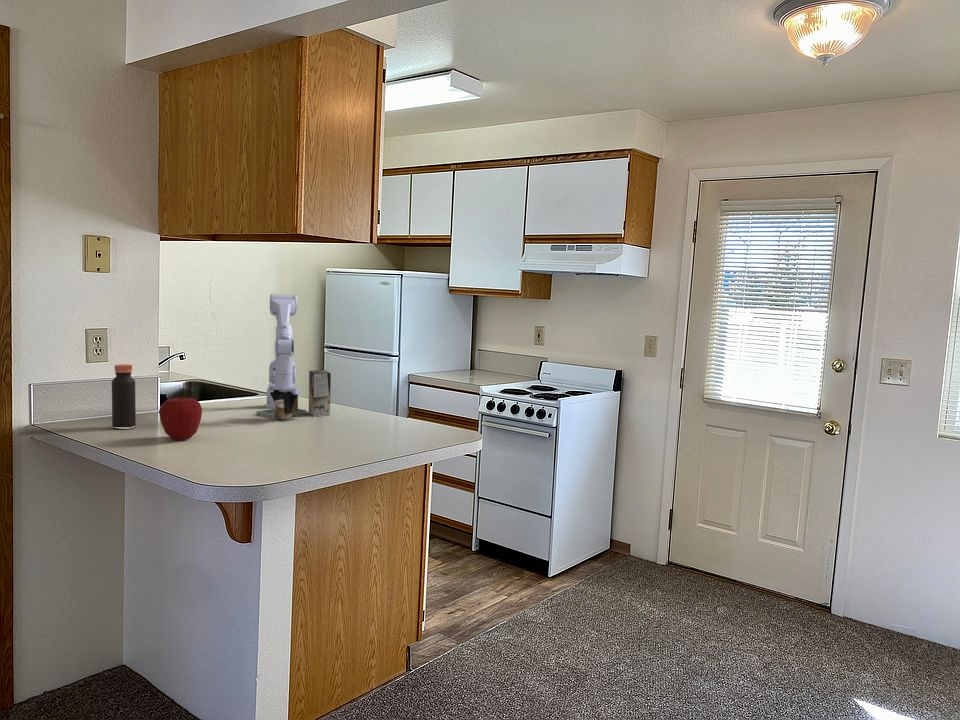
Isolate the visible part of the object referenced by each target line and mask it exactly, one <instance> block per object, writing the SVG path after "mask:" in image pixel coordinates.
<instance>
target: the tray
mask: <svg viewBox="0 0 960 720" xmlns="http://www.w3.org/2000/svg"><path fill="white" fill-rule="evenodd" d="M306 414H307V410H306V409H302V408H298V411H296V412H292V416H293V417H294V416H300V415H306ZM256 415H257V416H261V417H267V418H269V419H275V408H270V409H264V410H263V409H262V410H256Z"/></svg>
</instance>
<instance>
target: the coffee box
mask: <svg viewBox="0 0 960 720" xmlns="http://www.w3.org/2000/svg"><path fill="white" fill-rule="evenodd" d="M331 375H332V373H331V372H330V371H328V370H325V369H324V370H323V369H321V370H308V414H309V415H311V416H312V417H330V416H331V392H332V391H331V386H332V385H331V381H332V380H331V378H332V377H331Z"/></svg>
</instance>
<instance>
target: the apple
mask: <svg viewBox="0 0 960 720" xmlns="http://www.w3.org/2000/svg"><path fill="white" fill-rule="evenodd" d="M158 414H159V419H160V424H161V425H162V429H163V430H164V433H165V434H166V435H167V437H169V438H171V440H173V439H175V441H185V440H184V439H188V440H190V439H191V438H192V437H193V436H194V435H196V434H197V432H198V428H199V427H200V423H201V421H202V416H203V407H202V405H201V403H200V402H199V401H198V400H197V399H196V398H193V397H182V395H180V397H173V398H168V399H166V400H165V401H164V402H163V403H162V404H161V405H160V408H159V411H158ZM189 438H190V439H189Z"/></svg>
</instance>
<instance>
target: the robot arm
mask: <svg viewBox="0 0 960 720" xmlns="http://www.w3.org/2000/svg"><path fill="white" fill-rule="evenodd" d="M297 311H298V296H297V294H273V293H271V294H269V313H270V315H272V316H274V317H275V319H276V323H277V324H276V326H275V341H274V357H275V359H274V360H272V361H271V362H270V363H269V366H268V367H269V368H268V382H269V384H268V386H267V389H266V405H264V407H265V408H266V407H267V408H270V409H275V401H277V400H284V407H285V414H290V413H291V412H292V408H293V405H294V402H295V400H296V398H297V397H298V398H299V395H301V388H300V387H296V386H294V384H295V383H296V381H297V379H296V378H297V377H296V374H297V371H296V369H297V368H296V363H295V362H294V356H295V344H296V343H295V339H294V335H293V334H294V331H293V326H292V324H290V320H291V317H293V316H295V315H296V314H297Z"/></svg>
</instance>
